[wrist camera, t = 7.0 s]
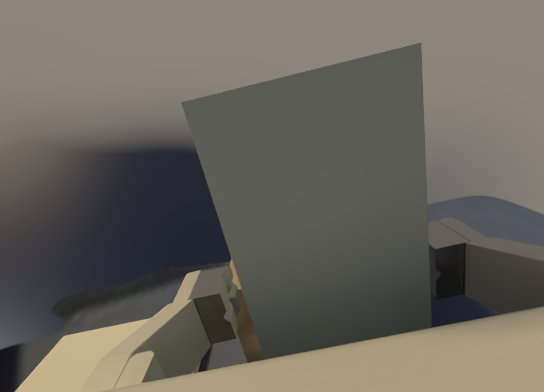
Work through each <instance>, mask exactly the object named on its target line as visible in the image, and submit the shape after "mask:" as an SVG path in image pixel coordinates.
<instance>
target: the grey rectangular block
mask: <svg viewBox="0 0 544 392" xmlns="http://www.w3.org/2000/svg"><path fill="white" fill-rule="evenodd" d="M182 106H183V109H184V112H185V115H186V118H187V121H188V125H189V128H190V131H191V134H192V137H193V140H194V143H195V146H196V149H197V152H198V155H199V159H200V162H201V165H202V168H203V171H204V174H205V177H206V180H207V183H208V186H209V189H210V192H211V196H212V199H213V202H214V205H215V208H216V211H217V214H218V217H219V221H220V224H221V227H222V229H223V233H224V236H225V239H226V242H227V245H228V248H229V251H230V255H231V258H232V261H233V264H234V267H235V270H236V273H237V276H238V279H239V282H240V286H241V289H242V292H243V295H244V298H245V301H246V304H247V307H248V310H249V313H250V316H251V320H252V323H253V326H254V329H255V332H256V335H257V338H258V341H259V344H260V347H261V350H262V354H263V357H264V360H266V359H271V358H276V357H282V356H287V355H292V354H297V353H303V352H308V351H313V350H318V349H324V348H329V347H334V346H339V345H345V344H350V343H355V342H360V341H365V340H371V339H376V338H381V337H386V336H391V335H397V334H402V333H407V332H412V331H418V330H423V329H428V328H432V316H431V290H430V264H429V238H428V211H427V185H426V160H425V135H424V134H425V133H424V107H423V81H422V54H421V43H418V44H414V45H411V46H406V47H402V48H399V49H394V50H390V51H386V52H382V53H378V54H374V55H370V56H366V57H362V58H358V59H354V60H350V61H347V62H342V63H338V64H334V65H330V66H326V67H322V68H318V69H314V70H310V71H306V72H302V73H298V74H294V75H290V76H286V77H282V78H278V79H274V80H270V81H266V82H262V83H258V84H254V85H249V86H245V87H241V88H237V89H233V90H229V91H225V92H222V93H217V94H213V95H210V96H205V97H202V98H197V99H193V100H189V101H185V102H182Z"/></svg>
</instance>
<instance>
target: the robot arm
mask: <svg viewBox="0 0 544 392" xmlns="http://www.w3.org/2000/svg"><path fill="white" fill-rule="evenodd" d="M428 238H429V264H430V290H431V294H432V295H433V296H434V297H435V298H436V299H440V298H446V297H452V296H458V295H464V294H465V296H467V297H469V298H471V299H473V300H475V301H477V302H479V303H481V304H483V305H485V306H487V307H489V308H491V309H493V310H495V311H498V312H500V313H502V314H501V315H496V316H491V317H486V318H480V319H475V320H470V321H465V322H459V323H454V324H449V325H444V326H438V327H433V328H428V329H423V330H418V331H412V332H407V333H402V334H397V335H391V336H386V337H381V338H376V339H371V340H365V341H360V342H355V343H350V344H345V345H339V346H334V347H329V348H324V349H318V350H313V351H308V352H303V353H297V354H292V355H287V356H282V357H276V358H271V359H266V360H261V361H255V362H250V363H245V364H240V365H234V366H229V367H224V368H219V369H214V370H208V371H203V372H198V373H193V374H192V372H193V371H194V369H195V368H196V366H197V365H198V364H199V362H200V361H201V359H202V358H203V357H204V355H205V354H206V352H207V351H208V350H209V348H210V347H211V344H214V343H219V342H223V341H227V340H232V339H236V336H237V329H238V320H237V317H236V316H237V315H238V314H239V312H240V296H239V291H238V288H237V285H236V284H234V283H233V282H232V280H233V273H232V270H231V267H230V266H229V265H226V266H221V267H216V268H210V269H205V270H199V271H195V272H191V273H188V274H187V275H186V276H185V279H184V281H183V283H182V285H181V287H180V289H179V291H178V293H177V295H176V297H175V299H174V301H173V303H172V304H168V305H167V306H166V307H164V308H163V309H162V310H161V311H159V312H158V313H157V314H156V315H154V316H153V317H152V318H151V319H150V320H148V321H147V322H146V323H145V324H143V325H142V326H141V327H140V328H138V329H137V330H136V331H135V332H133V333H132V334H131V335H130V336H129V337H127V338H126V339H125V340H124V341H122V342H121V343H120V344H119V345H117V346H116V347H115V348H114V349H113V350H111V351H110V352H109V353H108V354H106V355H105V356H104V357H103V358H101V359H100V361H99V362H98V364H97V365H96V367H95V368H94V370H93V371H92V373H91V374H90V376H89V377H88V379H87V380H86V382H85V384H84V385H83V387H82V388H81V390H80V391H79V392H544V247H541V246H536V245H531V244H526V243H520V242H515V241H510V240H505V239H500V238H495V237H492V238H487V237H485V236H484V235H482V234H480V233H478V232H477V231H475V230H473V229H472V228H470V227H468V226H466V225H465V224H463V223H461V222H460V221H458V220H456V219H454V218H450V217H449V218H445V219H441V220H437V221H433V222H428Z"/></svg>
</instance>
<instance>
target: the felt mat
mask: <svg viewBox="0 0 544 392" xmlns="http://www.w3.org/2000/svg"><path fill="white" fill-rule="evenodd" d="M150 319H151V318H150ZM150 319H145V320H140V321H135V322H130V323H125V324H121V325H116V326H111V327H106V328H101V329H96V330H91V331H86V332H81V333H76V334H72V335H67V336H64V337H63V338H62V339H61V340H60V341H59V342H58V343H57V345H56V346H55V347H54V348H53V349H52V350H51V351H50V352H49V354H48V355H47V356H46V357H45V358H44V359H43V360H42V361H41V363H40V364H39V365H38V366H37V367H36V368H35V369H34V371H33V372H32V373H31V374H30V375H29V376H28V377H27V378H26V380H25V381H24V382H23V383H22V384H21V385H20V386H19V388H18V389H17V390H16V391H15V392H79V391H80V390H81V388H82V387H83V385H84V384H85V382H86V380H87V379H88V377H89V376H90V374H91V373H92V371H93V370H94V368H95V367H96V365H97V364H98V362H99V361H100V359H101V358H103V357H104V356H105V355H106V354H108V353H109V352H110V351H111V350H113V349H114V348H115V347H116V346H117V345H119V344H120V343H121V342H122V341H124V340H125V339H126V338H127V337H129V336H130V335H131V334H132V333H133V332H135V331H136V330H137V329H138V328H140V327H141V326H142V325H143V324H145V323H146V322H147V321H148V320H150ZM200 363H201V361H200V362H199V364H198V365H197V366H196V368H195V369H194V371H193V372H192V374H193V373H198V371H199V367H200Z"/></svg>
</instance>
